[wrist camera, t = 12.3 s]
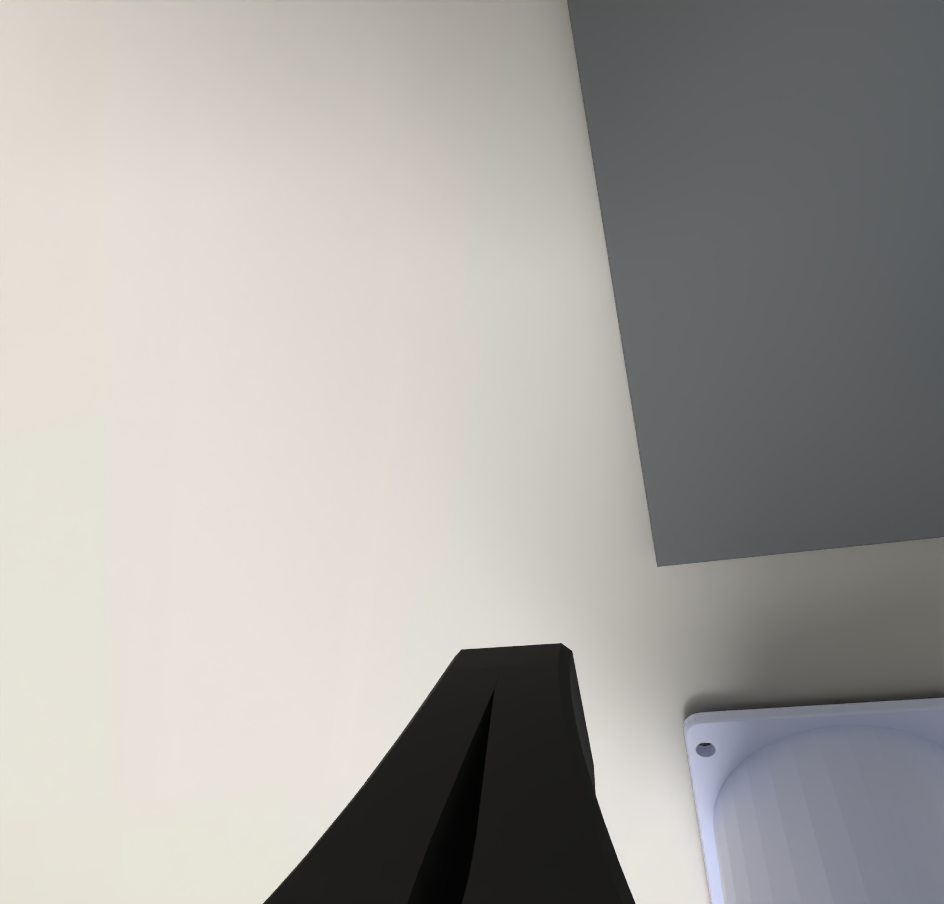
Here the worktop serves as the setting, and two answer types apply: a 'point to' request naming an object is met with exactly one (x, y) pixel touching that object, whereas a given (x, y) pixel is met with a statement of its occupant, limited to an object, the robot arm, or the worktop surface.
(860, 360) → the mat
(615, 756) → the worktop surface
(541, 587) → the worktop surface
